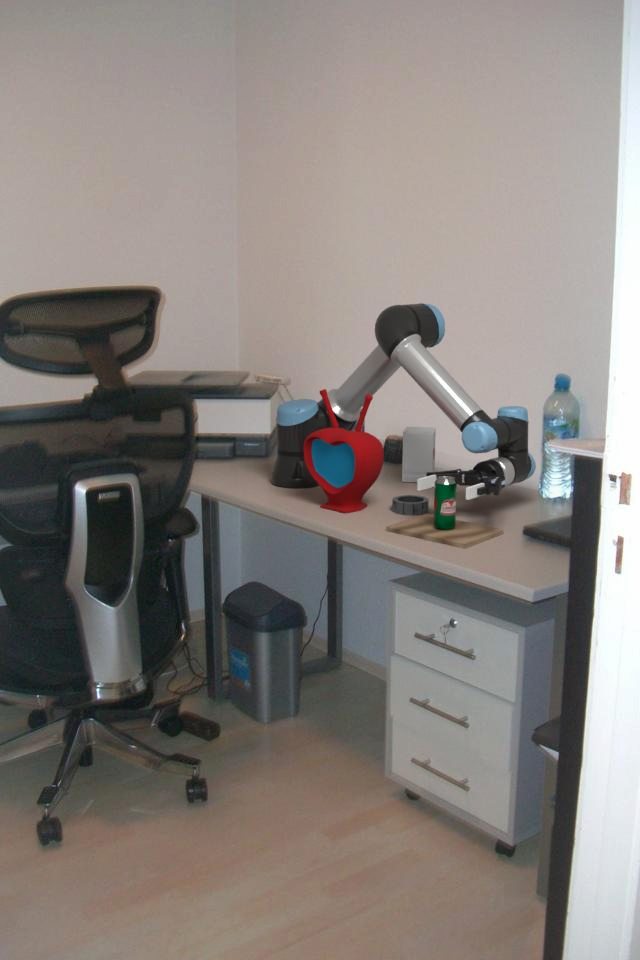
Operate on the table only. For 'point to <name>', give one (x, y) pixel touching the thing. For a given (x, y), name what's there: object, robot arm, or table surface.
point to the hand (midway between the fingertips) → (442, 489)
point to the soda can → (445, 503)
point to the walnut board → (445, 531)
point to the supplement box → (418, 453)
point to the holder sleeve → (410, 505)
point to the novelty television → (344, 461)
